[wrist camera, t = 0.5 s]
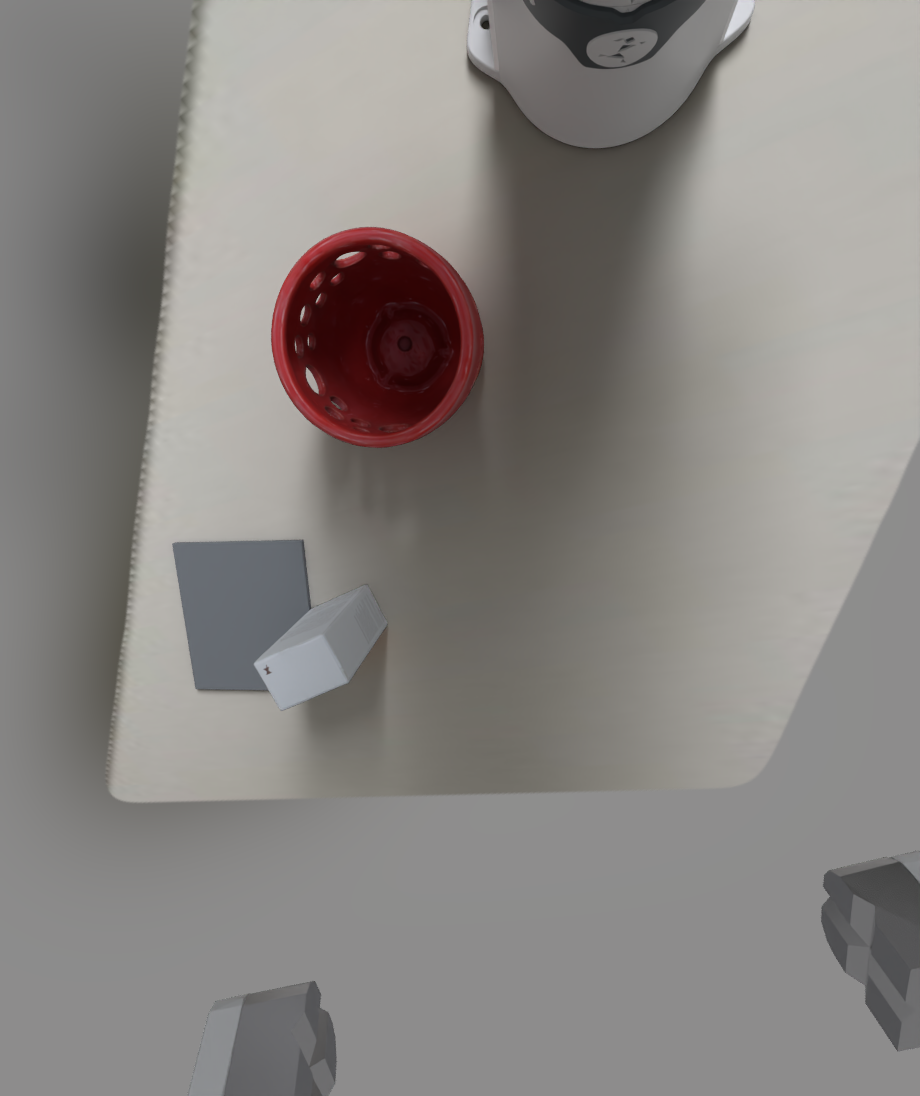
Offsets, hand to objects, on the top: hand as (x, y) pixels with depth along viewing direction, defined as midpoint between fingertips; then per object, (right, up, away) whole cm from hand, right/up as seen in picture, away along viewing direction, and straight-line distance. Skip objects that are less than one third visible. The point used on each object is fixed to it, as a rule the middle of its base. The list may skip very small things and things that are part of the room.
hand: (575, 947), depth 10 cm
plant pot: (-6, +22, +41) cm, 47 cm away
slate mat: (-21, 0, +48) cm, 52 cm away
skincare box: (-11, 0, +47) cm, 48 cm away
